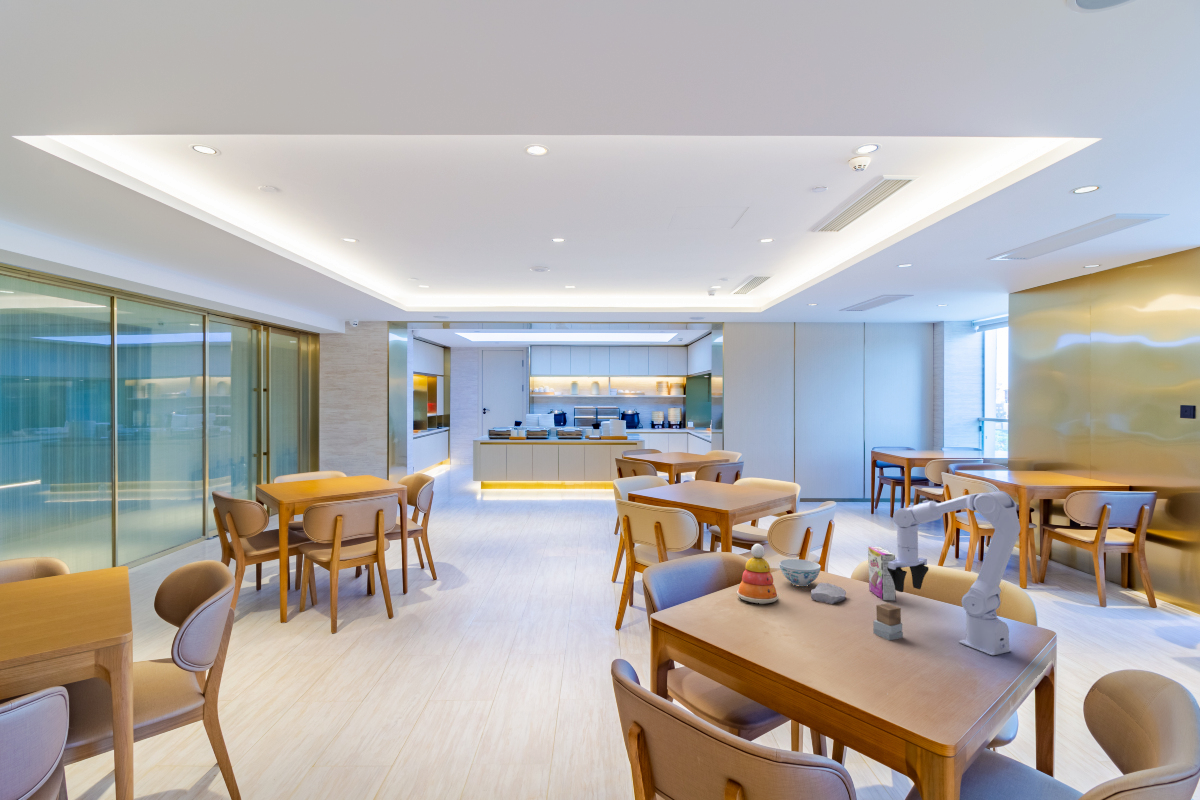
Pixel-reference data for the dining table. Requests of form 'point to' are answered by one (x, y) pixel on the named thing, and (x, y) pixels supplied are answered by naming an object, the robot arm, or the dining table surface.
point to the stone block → (828, 593)
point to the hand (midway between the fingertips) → (908, 589)
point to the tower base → (888, 636)
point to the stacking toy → (757, 579)
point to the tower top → (887, 627)
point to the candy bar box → (881, 574)
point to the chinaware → (800, 571)
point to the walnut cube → (888, 614)
